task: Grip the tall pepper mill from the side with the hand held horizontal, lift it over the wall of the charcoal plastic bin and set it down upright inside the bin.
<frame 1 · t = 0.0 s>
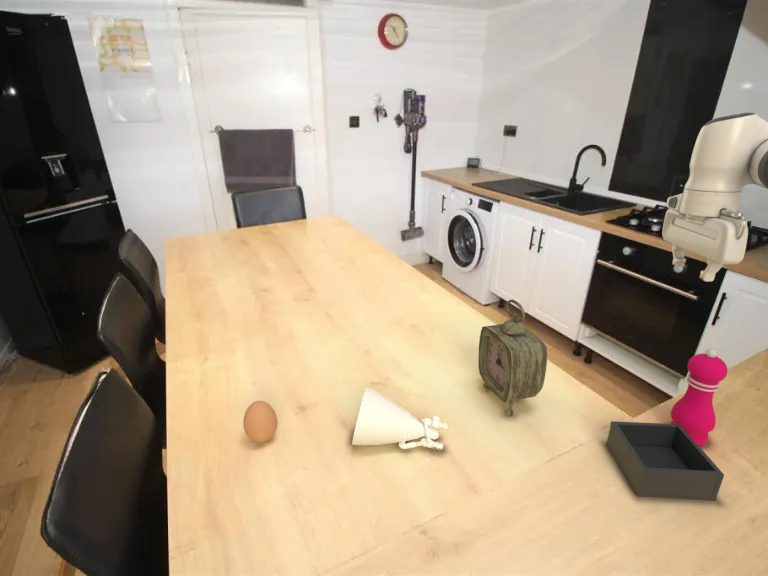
hand: (691, 272, 84), 31 cm above the table, tool pointing down, fingers open, 8 cm apart
tabletop clock: (507, 400, 96), on the table
egg: (263, 440, 85), on the table
pepper mill: (687, 436, 83), on the table
bin: (656, 470, 75), on the table
rocket engine: (397, 446, 83), on the table
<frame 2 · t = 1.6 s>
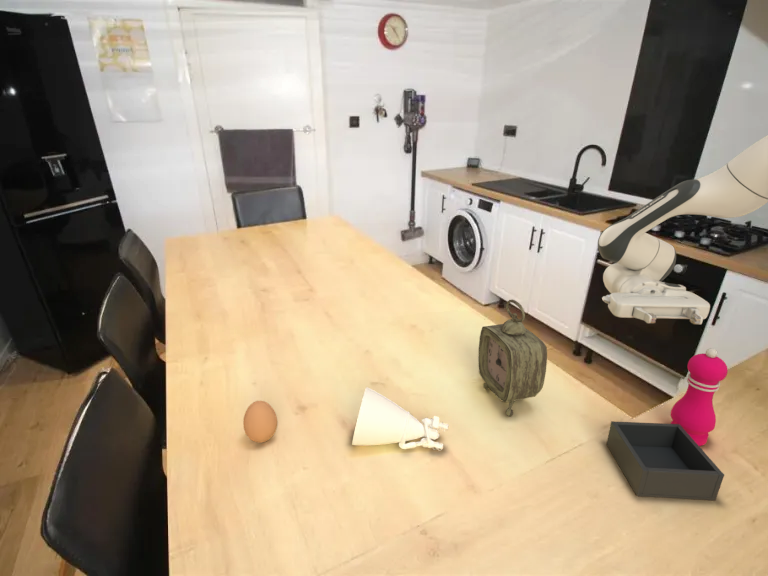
hand: (675, 320, 88), 20 cm above the table, tool horizontal, fingers open, 8 cm apart
nothing on the table moved.
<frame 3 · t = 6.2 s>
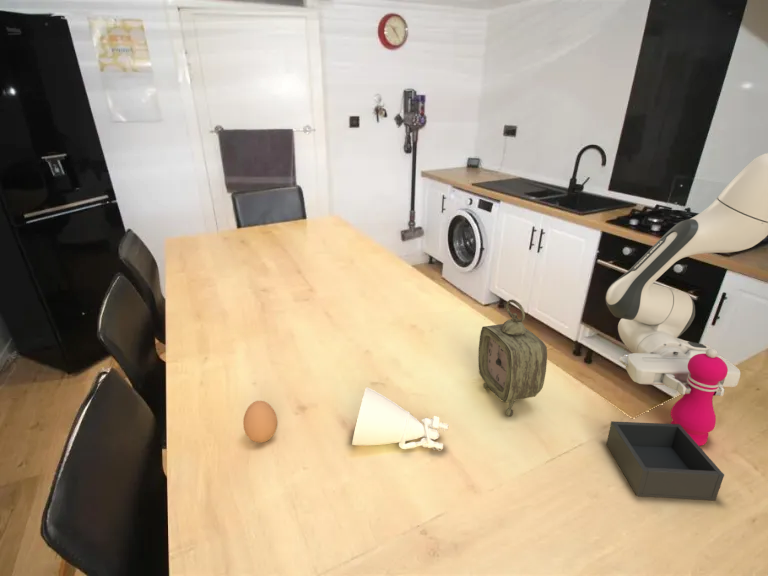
hand: (703, 392, 79), 11 cm above the table, tool horizontal, fingers closed on pepper mill, 4 cm apart
pepper mill: (687, 436, 83), on the table, touching gripper
everything else where it was.
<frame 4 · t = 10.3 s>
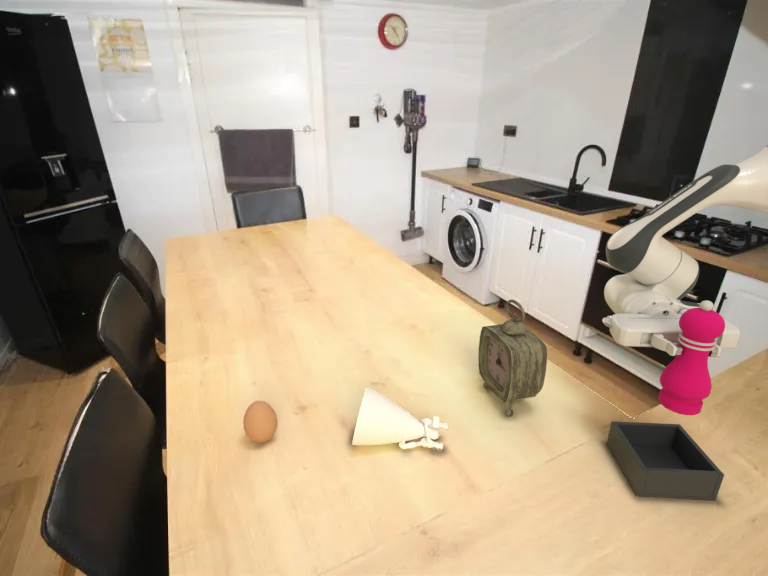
hand: (697, 352, 68), 24 cm above the table, tool horizontal, fingers closed on pepper mill, 4 cm apart
pepper mill: (678, 405, 73), point 13 cm above the table, touching gripper
everything else where it was.
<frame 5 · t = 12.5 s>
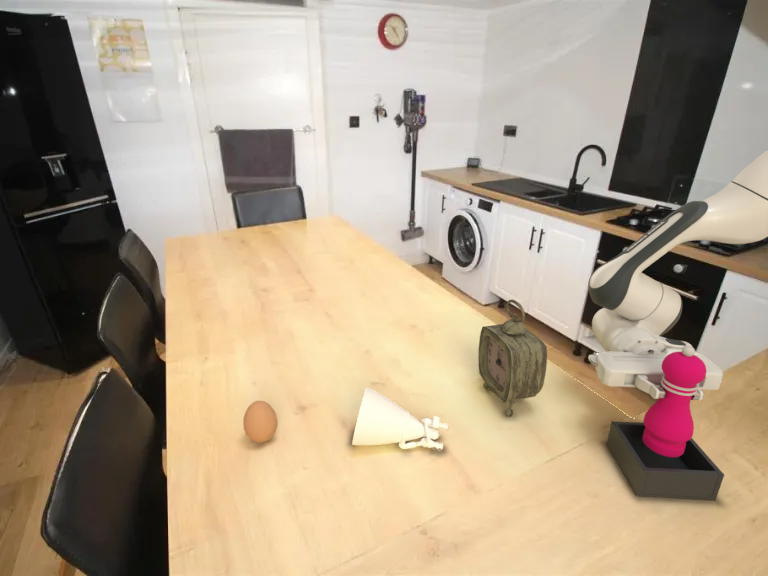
hand: (679, 396, 69), 17 cm above the table, tool horizontal, fingers closed on pepper mill, 4 cm apart
pepper mill: (662, 445, 73), point 5 cm above the table, touching gripper
everything else where it was.
when the fingers open (12 cm above the table, at t = 14.4 s): pepper mill stays where it is, resting on bin.
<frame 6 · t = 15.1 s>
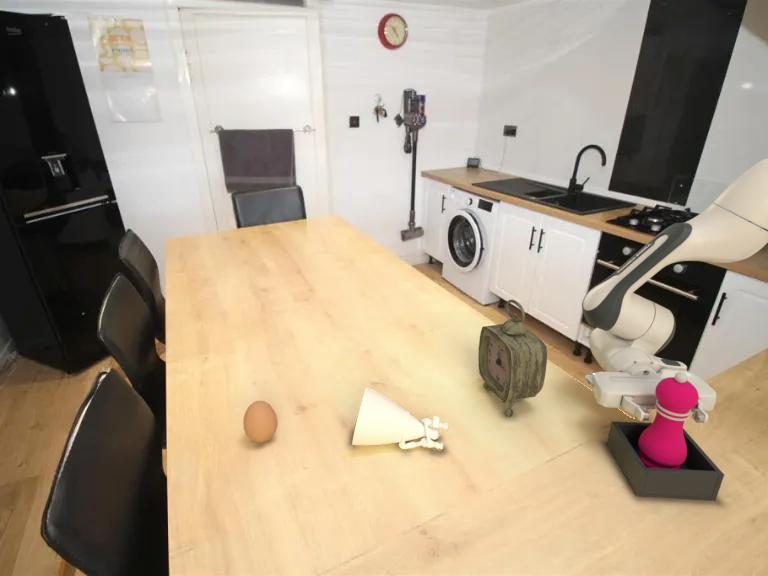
hand: (674, 418, 70), 12 cm above the table, tool horizontal, fingers open, 8 cm apart
pepper mill: (656, 467, 75), resting on bin
everything else where it was.
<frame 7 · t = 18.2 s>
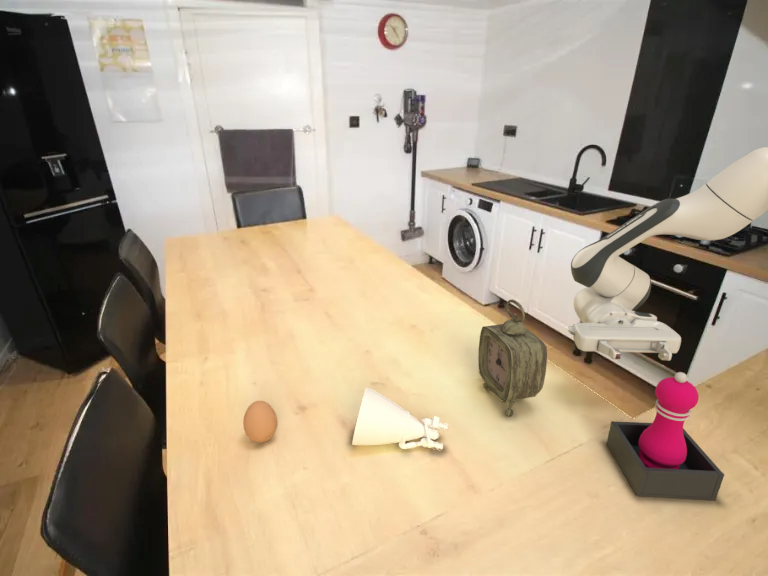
hand: (642, 356, 80), 17 cm above the table, tool horizontal, fingers open, 8 cm apart
nothing on the table moved.
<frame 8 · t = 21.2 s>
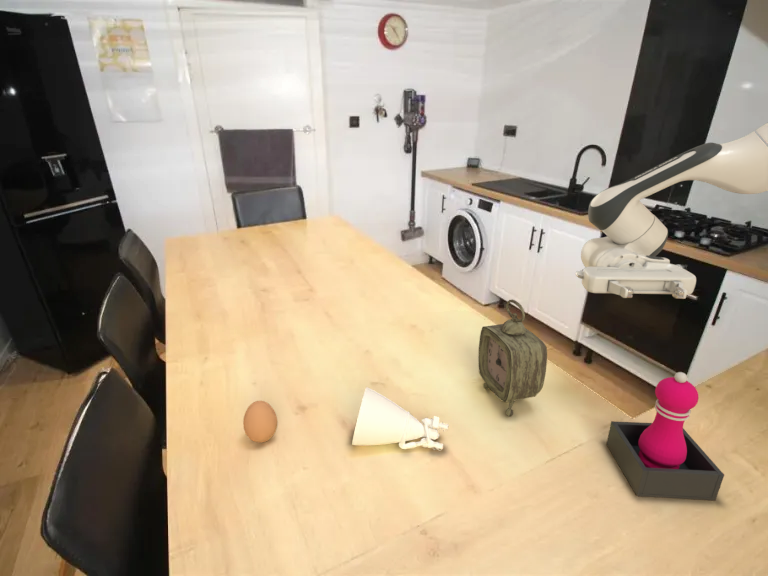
hand: (655, 294, 76), 30 cm above the table, tool horizontal, fingers open, 8 cm apart
nothing on the table moved.
at the end: pepper mill inside the target area in the bin (0.1 cm from its centre), point 0.4 cm above the bin's base; pepper mill tilted 0°; the gripper is holding nothing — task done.
